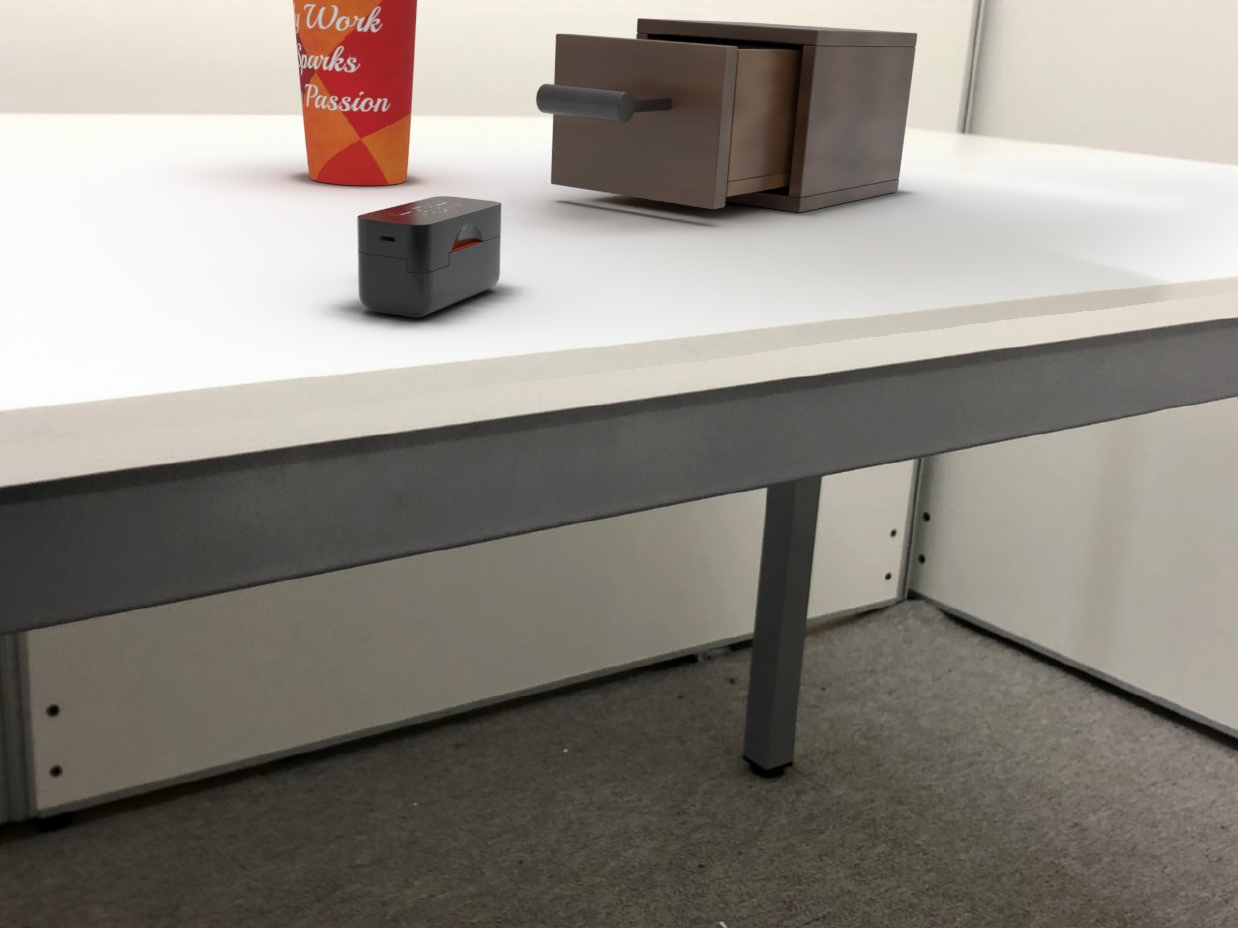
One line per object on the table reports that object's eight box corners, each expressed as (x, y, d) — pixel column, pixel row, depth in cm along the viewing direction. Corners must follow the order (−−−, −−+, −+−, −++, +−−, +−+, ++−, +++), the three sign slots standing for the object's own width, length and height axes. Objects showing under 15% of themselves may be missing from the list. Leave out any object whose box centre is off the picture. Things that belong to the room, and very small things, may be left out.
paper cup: (261, 176, 72) (249, -91, 67) (354, 166, 78) (350, -80, 73) (364, 193, 68) (360, -89, 64) (454, 181, 75) (456, -77, 70)
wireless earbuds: (514, 285, 49) (516, 200, 48) (423, 323, 42) (423, 226, 41) (407, 270, 50) (407, 188, 49) (304, 305, 44) (301, 211, 43)
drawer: (659, 219, 60) (671, 46, 57) (491, 191, 65) (494, 32, 63) (824, 188, 73) (839, 47, 71) (673, 168, 79) (682, 36, 76)
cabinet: (799, 212, 70) (817, 30, 67) (627, 187, 76) (636, 18, 73) (897, 191, 81) (918, 33, 77) (740, 170, 87) (752, 22, 83)
